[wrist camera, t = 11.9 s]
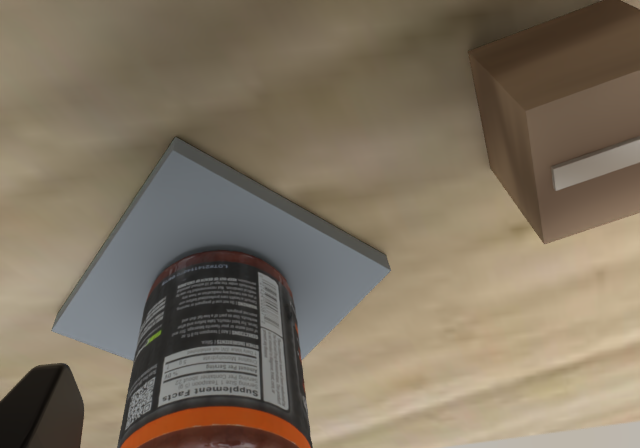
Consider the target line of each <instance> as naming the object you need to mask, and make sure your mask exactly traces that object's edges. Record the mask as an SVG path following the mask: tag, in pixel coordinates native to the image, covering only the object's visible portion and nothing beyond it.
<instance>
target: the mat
mask: <svg viewBox="0 0 640 448" xmlns="http://www.w3.org/2000/svg"><path fill="white" fill-rule="evenodd" d="M216 250H229V251H238V252H243V253H246V254H249V255H253V256H255V257H257V258H260V259H262V260H263V261H265V262H266V263H268V264H269V265H271V266H272V267H274V268H275V269H276V270H277V271H279V272H280V274H281V275H282V276H283V277H284V278H285V279H286V281H287V284H288V286H289V287H290V290H291V292H292V296H293V301H294V305H295V311H296V318H297V322H298V336H299V344H300V350H301V360H302V359H303V358H304V357H305V356H306V355H307V354H308V353H309V352H310V351H311V350H312V349H313V348H314V347H315V346H316V345H317V344H318V343H319V342H320V341H321V340H322V339H323V338H324V337H325V336H326V335H327V334H328V333H329V332H330V331H331V330H332V329H333V328H334V327H335V326H336V325H337V324H338V323H339V322H340V321H341V320H342V319H343V318H344V317H345V316H346V315H347V314H348V313H349V312H350V311H351V310H352V309H353V308H354V307H355V306H356V305H357V304H358V303H359V302H360V301H361V300H362V299H363V298H364V297H365V296H366V295H367V294H368V293H369V292H370V291H371V290H372V289H373V288H374V287H375V286H376V285H377V284H378V283H379V282H380V281H381V280H382V279H383V278H384V277H385V276H386V275H387V274H388V273H389V272H390V271H391V269H390V266H389V263H388V260H387V257H386V255H384V254H383V253H381V252H379V251H377V250H376V249H374V248H372V247H370V246H368V245H367V244H365V243H363V242H361V241H360V240H358V239H356V238H354V237H353V236H351V235H349V234H347V233H345V232H344V231H342V230H340V229H338V228H337V227H335V226H333V225H331V224H329V223H328V222H326V221H324V220H322V219H321V218H319V217H317V216H315V215H314V214H312V213H310V212H308V211H306V210H305V209H303V208H301V207H299V206H298V205H296V204H294V203H292V202H290V201H289V200H287V199H285V198H283V197H282V196H280V195H278V194H276V193H274V192H273V191H271V190H269V189H267V188H266V187H264V186H262V185H260V184H259V183H257V182H255V181H253V180H251V179H250V178H248V177H246V176H244V175H243V174H241V173H239V172H237V171H235V170H234V169H232V168H230V167H228V166H227V165H225V164H223V163H221V162H219V161H218V160H216V159H214V158H212V157H211V156H209V155H207V154H205V153H204V152H202V151H200V150H198V149H196V148H195V147H193V146H191V145H189V144H188V143H186V142H184V141H182V140H180V139H179V138H177V137H175V138H174V140H173V141H172V143H171V144H170V146H169V147H168V149H167V150H166V152H165V153H164V155H163V156H162V158H161V159H160V161H159V162H158V164H157V165H156V167H155V168H154V170H153V171H152V173H151V174H150V176H149V177H148V179H147V180H146V182H145V183H144V185H143V186H142V188H141V189H140V191H139V192H138V194H137V195H136V197H135V198H134V200H133V201H132V203H131V204H130V206H129V207H128V209H127V210H126V212H125V213H124V215H123V216H122V218H121V219H120V221H119V222H118V224H117V225H116V227H115V228H114V230H113V231H112V233H111V234H110V236H109V237H108V239H107V240H106V242H105V243H104V245H103V246H102V248H101V249H100V251H99V252H98V254H97V255H96V257H95V258H94V260H93V261H92V263H91V264H90V266H89V267H88V269H87V270H86V272H85V273H84V275H83V276H82V278H81V279H80V281H79V282H78V284H77V285H76V287H75V288H74V290H73V291H72V293H71V294H70V296H69V297H68V299H67V300H66V302H65V303H64V305H63V306H62V308H61V309H60V311H59V312H58V314H57V317H56V319H55V322H54V325H53V328H52V330H51V331H53V332H55V333H58V334H61V335H64V336H66V337H69V338H72V339H75V340H77V341H80V342H83V343H86V344H88V345H91V346H94V347H96V348H99V349H102V350H105V351H107V352H110V353H113V354H116V355H118V356H121V357H124V358H127V359H129V360H132V361H134V357H135V352H136V348H137V342H138V337H139V332H140V327H141V322H142V317H143V311H144V307H145V303H146V300H147V297H148V294H149V291H150V289H151V287H152V285H153V284H154V282H155V280H156V279H157V277H158V276H159V275H160V274H161V273H162V272H163V271H164V270H165V269H166V268H168V267H169V266H170V265H172V264H173V263H175V262H177V261H179V260H180V259H183V258H184V257H187V256H190V255H192V254H195V253H201V252H204V251H216Z"/></svg>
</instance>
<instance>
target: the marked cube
mask: <svg viewBox="0 0 640 448" xmlns="http://www.w3.org/2000/svg"><path fill="white" fill-rule="evenodd" d="M468 54H469V59H470V64H471V70H472V75H473V80H474V85H475V90H476V95H477V101H478V106H479V111H480V116H481V121H482V127H483V132H484V137H485V142H486V147H487V152H488V158H489V163H490V168H491V170H492V171H493V173H494V174H495V175H496V177H497V178H498V180H499V181H500V182H501V184H502V185H503V187H504V188H505V190H506V191H507V192H508V194H509V195H510V197H511V198H512V199H513V201H514V202H515V204H516V205H517V206H518V208H519V209H520V211H521V212H522V214H523V215H524V216H525V218H526V219H527V221H528V222H529V223H530V225H531V226H532V228H533V229H534V231H535V232H536V233H537V235H538V236H539V238H540V239H541V240H542V242H543V243H544V244H547V243H550V242H553V241H556V240H559V239H562V238H565V237H568V236H571V235H574V234H577V233H580V232H583V231H586V230H589V229H592V228H595V227H598V226H601V225H604V224H607V223H610V222H613V221H616V220H619V219H622V218H625V217H628V216H631V215H634V214H637V213H640V10H639V9H637V8H635V7H633V6H631V5H629V4H627V3H625V2H623V1H621V0H603V1H600V2H598V3H595V4H592V5H590V6H587V7H584V8H582V9H579V10H576V11H574V12H571V13H568V14H566V15H563V16H560V17H558V18H555V19H552V20H550V21H547V22H544V23H542V24H539V25H536V26H534V27H531V28H528V29H526V30H523V31H520V32H518V33H515V34H512V35H510V36H507V37H504V38H502V39H499V40H496V41H494V42H491V43H488V44H486V45H483V46H480V47H478V48H475V49H472V50H470V51H468Z"/></svg>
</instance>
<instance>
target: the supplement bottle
mask: <svg viewBox="0 0 640 448" xmlns="http://www.w3.org/2000/svg"><path fill="white" fill-rule="evenodd" d="M117 448H313V447H312V442H311V437H310V426H309V420H308V409H307V403H306V394H305V387H304V379H303V369H302V362H301V350H300V344H299V336H298V322H297V318H296V311H295V305H294V301H293V296H292V292H291V290H290V287H289V286H288V284H287V281H286V279H285V278H284V277H283V276H282V275H281V274H280V272H279V271H277V270H276V269H275V268H274V267H272V266H271V265H269V264H268V263H266V262H265V261H263V260H262V259H260V258H257V257H255V256H253V255H249V254H246V253H243V252H238V251H229V250H216V251H204V252H201V253H195V254H192V255H190V256H187V257H184V258H183V259H180V260H179V261H177V262H175V263H173V264H172V265H170V266H169V267H168V268H166V269H165V270H164V271H163V272H162V273H161V274H160V275H159V276H158V277H157V279H156V280H155V282H154V284H153V285H152V287H151V289H150V291H149V294H148V297H147V300H146V303H145V307H144V311H143V317H142V322H141V327H140V332H139V337H138V342H137V348H136V352H135V357H134V362H133V368H132V374H131V378H130V383H129V388H128V394H127V398H126V404H125V410H124V415H123V420H122V426H121V430H120V435H119V441H118V446H117Z"/></svg>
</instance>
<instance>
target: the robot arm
mask: <svg viewBox="0 0 640 448" xmlns="http://www.w3.org/2000/svg"><path fill="white" fill-rule="evenodd" d="M83 419H84V404H83V400H82V397H81V394H80V392H79V389H78V387H77V384H76V382H75V379H74V377H73V374H72V372H71V370H70V368H69V366H68V365H66V364H64V363H57V364H46V365H39V366H36V367H34V368H33V369H31V370H30V371H29V372H28V373H27V374H26V375H25V376H24V377H23V378H22V379H21V380H20V381H19V382H18V384H17V385H16V386H15V387H14V388H13V389H12V390H11V391H10V392H9V393H8V394H7V395H6V396H5V397H4V398H3V399H2V400H1V401H0V448H80V444H81V435H82V427H83Z"/></svg>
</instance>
